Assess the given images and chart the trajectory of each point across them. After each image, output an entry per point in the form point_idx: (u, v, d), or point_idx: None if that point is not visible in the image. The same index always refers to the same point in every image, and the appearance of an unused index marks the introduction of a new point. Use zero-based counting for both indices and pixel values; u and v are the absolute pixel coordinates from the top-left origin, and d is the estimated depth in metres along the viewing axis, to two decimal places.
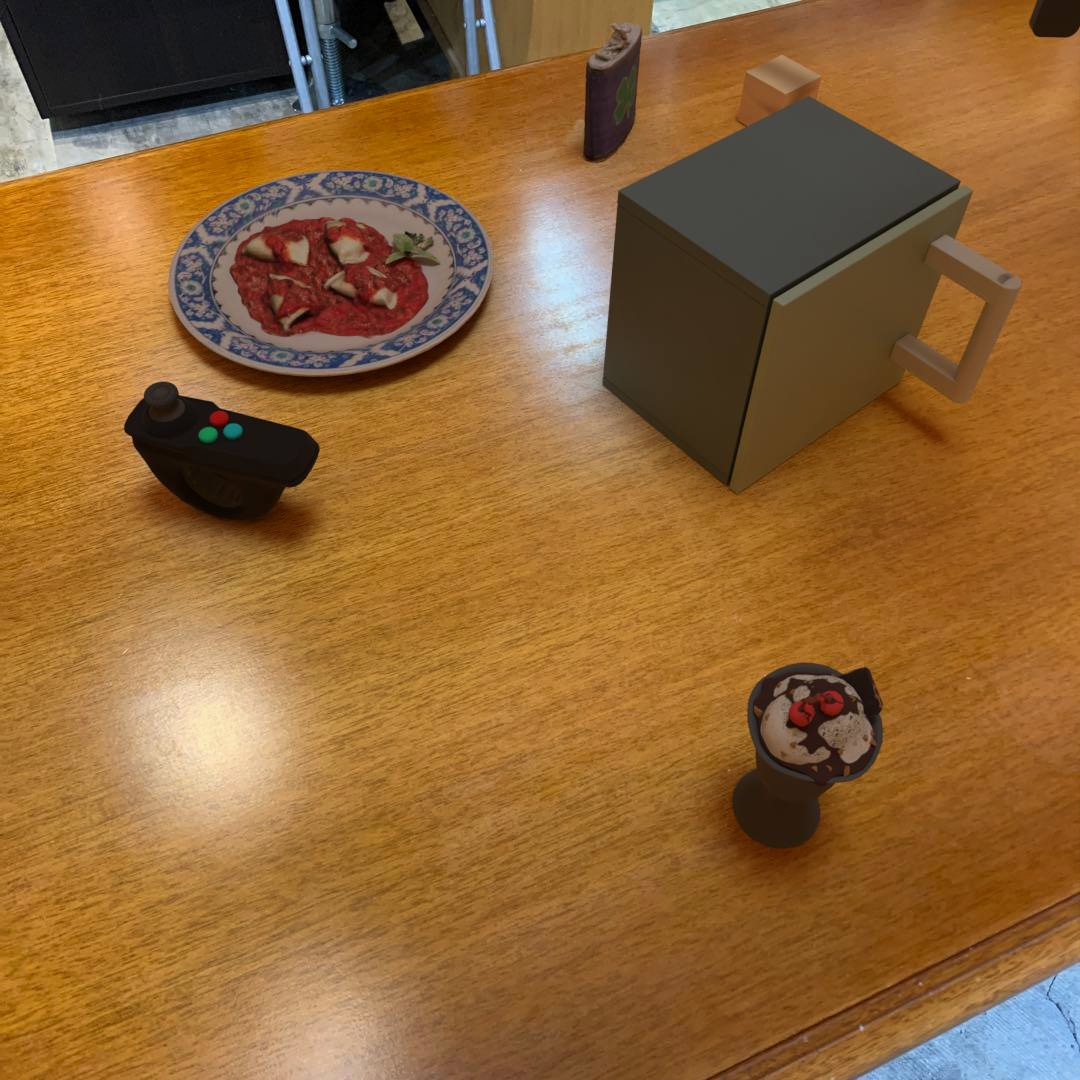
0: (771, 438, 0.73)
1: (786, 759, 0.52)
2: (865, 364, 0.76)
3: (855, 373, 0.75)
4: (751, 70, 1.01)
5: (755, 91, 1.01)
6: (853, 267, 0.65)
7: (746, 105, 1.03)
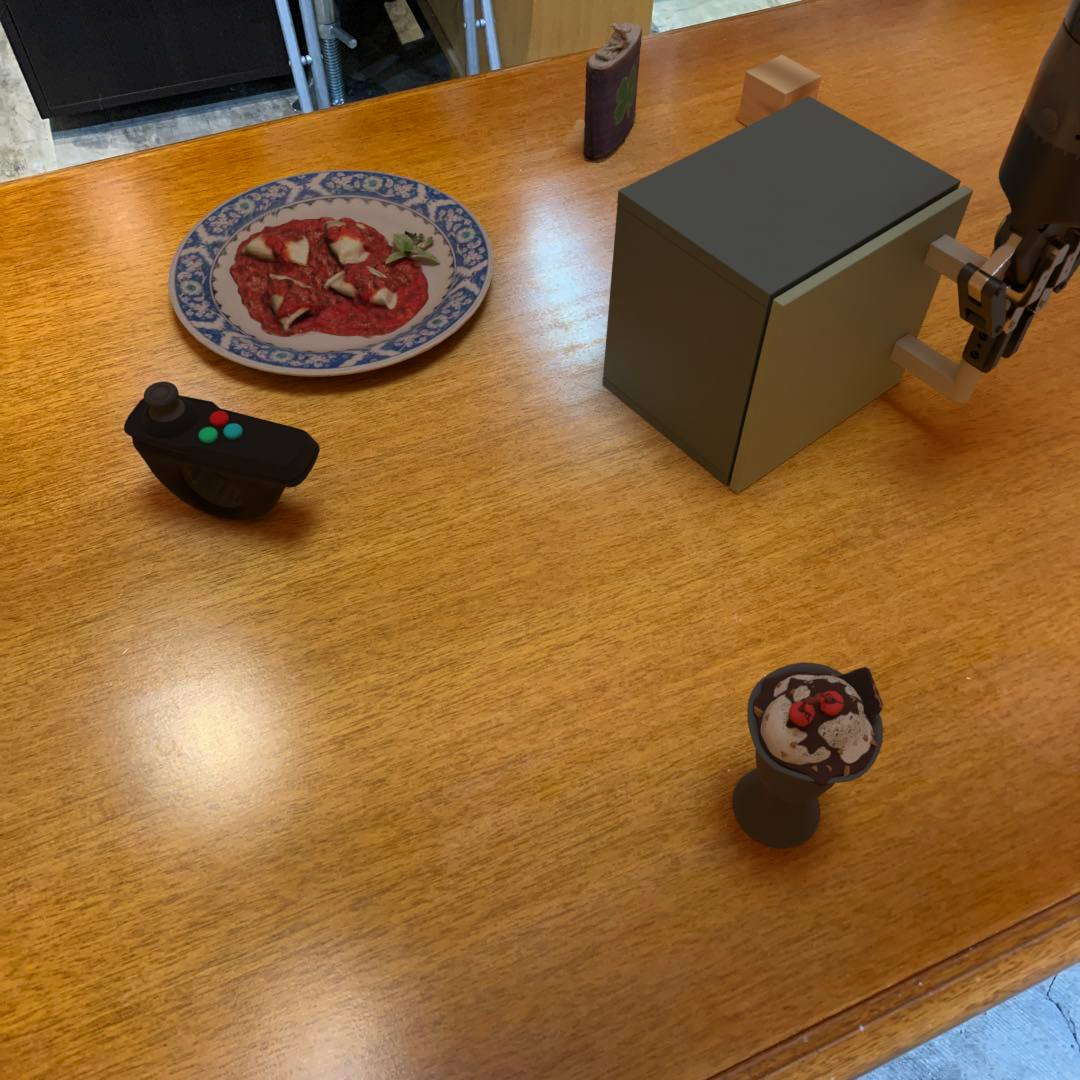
0: (771, 438, 0.73)
1: (786, 759, 0.52)
2: (865, 364, 0.76)
3: (855, 373, 0.75)
4: (751, 70, 1.01)
5: (755, 91, 1.01)
6: (853, 267, 0.65)
7: (746, 105, 1.03)
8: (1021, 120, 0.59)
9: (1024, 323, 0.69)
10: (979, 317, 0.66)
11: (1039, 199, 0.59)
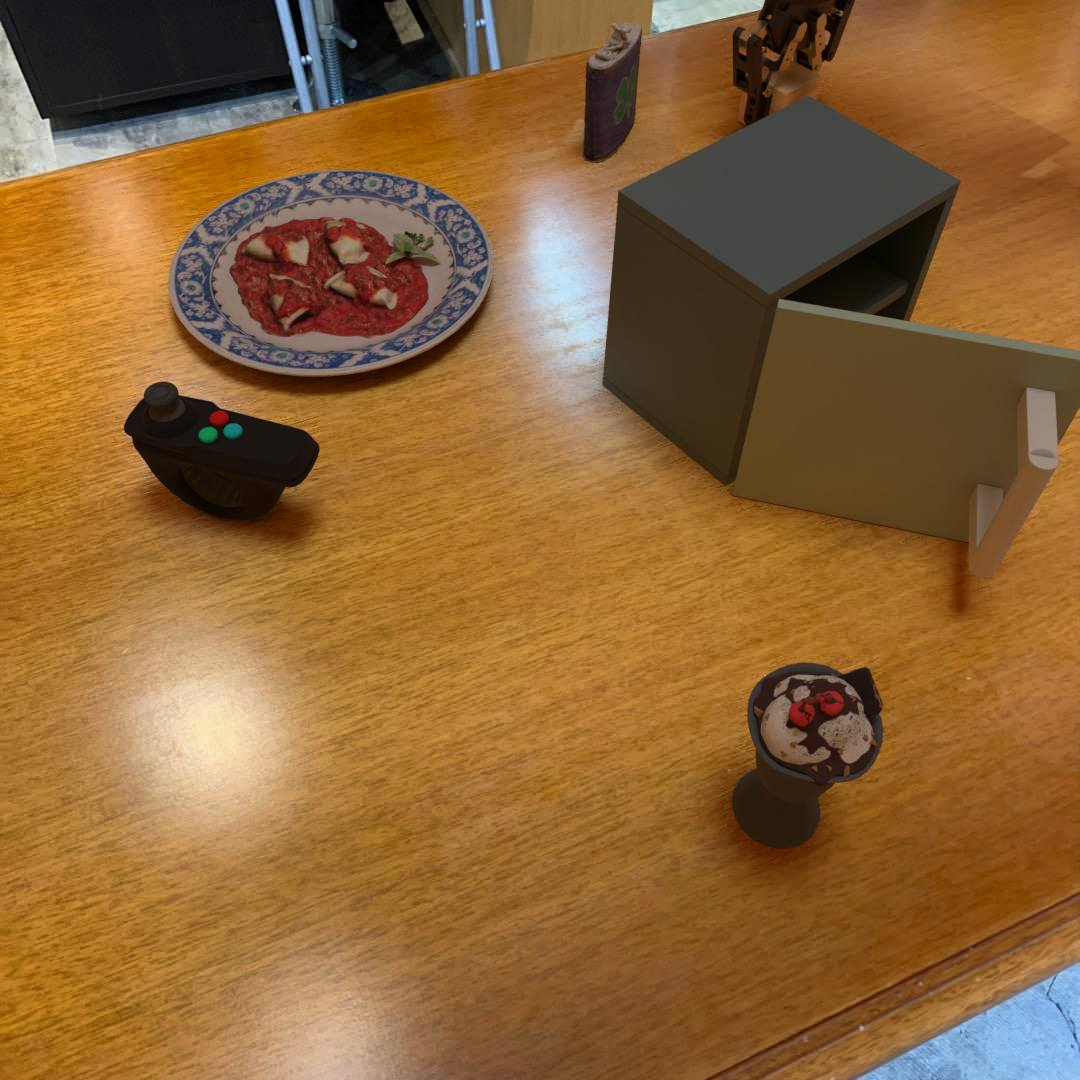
0: (778, 463, 0.72)
1: (786, 759, 0.52)
2: (926, 477, 0.69)
3: (910, 477, 0.70)
4: None
5: None
6: (888, 332, 0.61)
7: None
8: None
9: None
10: (744, 82, 0.97)
11: None
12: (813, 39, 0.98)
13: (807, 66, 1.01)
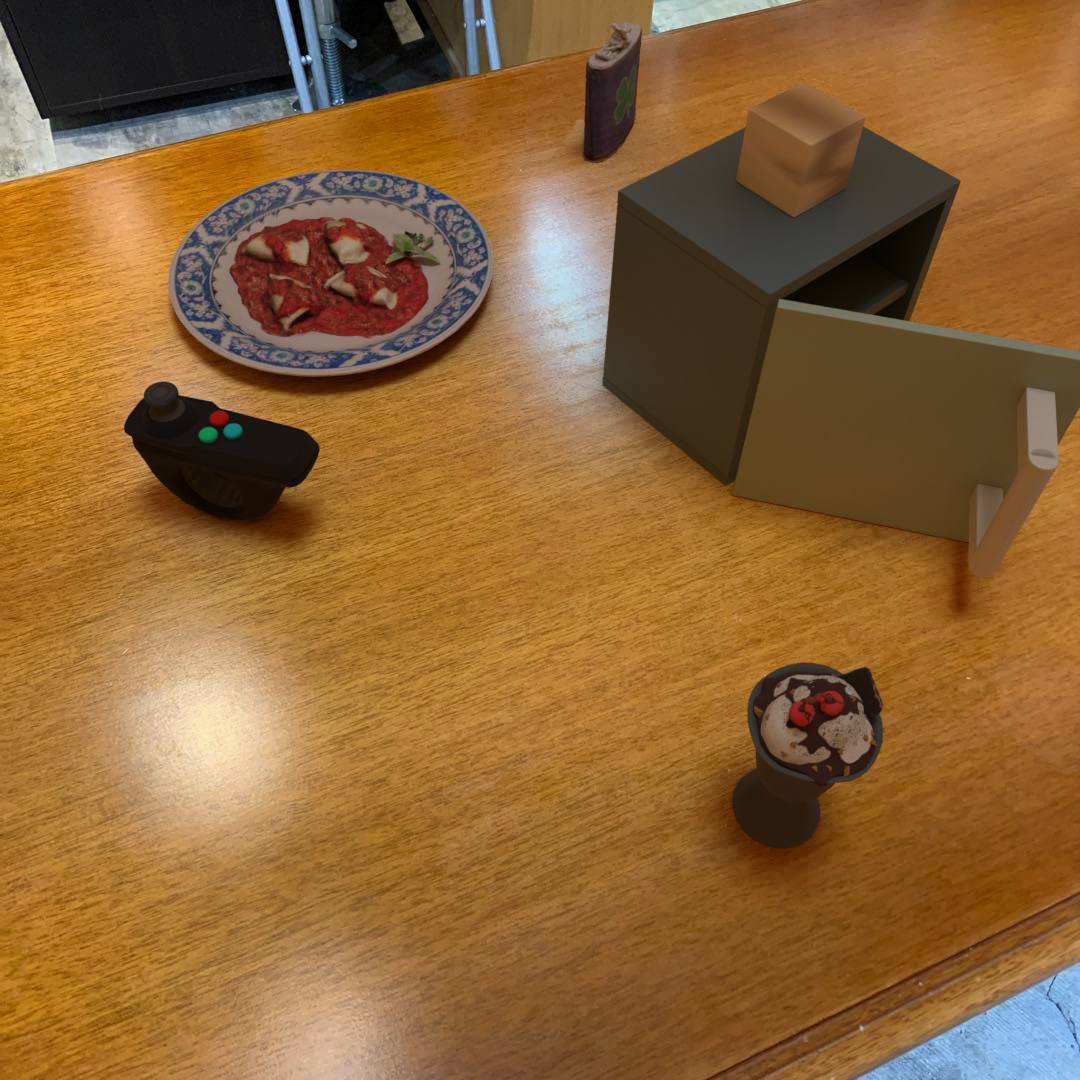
0: (778, 463, 0.72)
1: (786, 759, 0.52)
2: (926, 477, 0.69)
3: (910, 477, 0.70)
4: (757, 107, 0.65)
5: (764, 139, 0.65)
6: (888, 332, 0.61)
7: (749, 159, 0.67)
8: None
9: None
10: None
11: None
12: None
13: None
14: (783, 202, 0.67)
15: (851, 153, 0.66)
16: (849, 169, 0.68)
